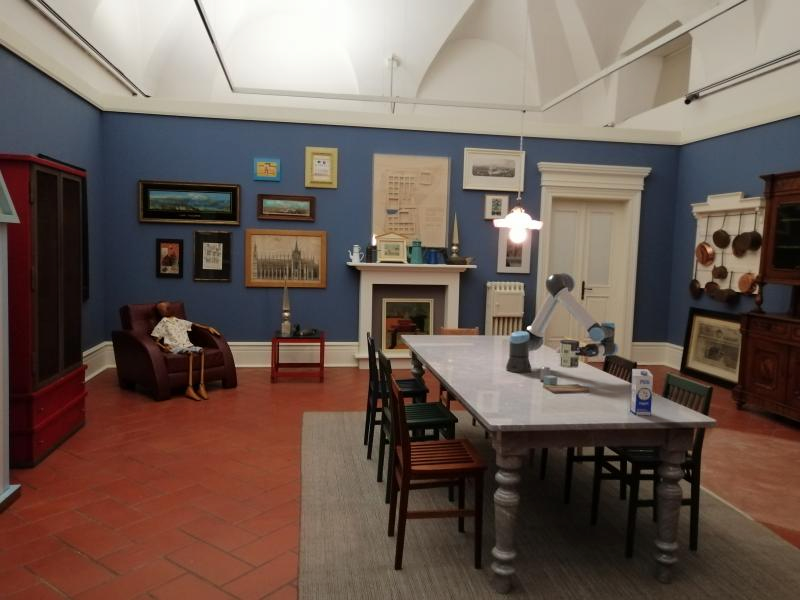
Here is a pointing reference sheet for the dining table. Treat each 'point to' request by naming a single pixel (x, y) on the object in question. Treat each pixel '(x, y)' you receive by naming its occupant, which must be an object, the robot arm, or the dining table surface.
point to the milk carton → (641, 392)
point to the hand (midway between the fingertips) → (563, 352)
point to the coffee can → (568, 353)
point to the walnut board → (565, 388)
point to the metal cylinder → (544, 373)
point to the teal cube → (550, 380)
